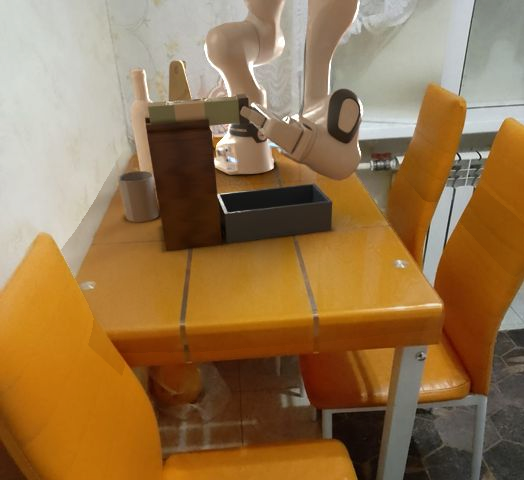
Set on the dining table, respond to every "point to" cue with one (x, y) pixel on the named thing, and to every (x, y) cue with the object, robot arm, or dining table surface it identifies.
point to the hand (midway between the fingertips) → (238, 106)
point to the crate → (274, 212)
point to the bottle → (141, 119)
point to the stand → (185, 182)
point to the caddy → (178, 81)
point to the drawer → (201, 110)
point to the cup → (139, 196)
